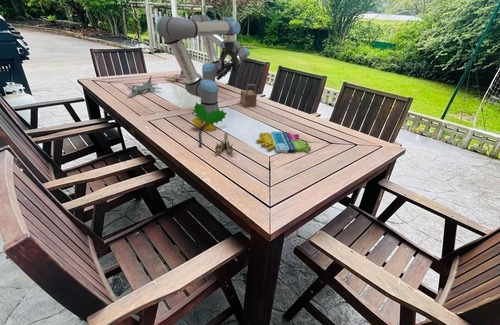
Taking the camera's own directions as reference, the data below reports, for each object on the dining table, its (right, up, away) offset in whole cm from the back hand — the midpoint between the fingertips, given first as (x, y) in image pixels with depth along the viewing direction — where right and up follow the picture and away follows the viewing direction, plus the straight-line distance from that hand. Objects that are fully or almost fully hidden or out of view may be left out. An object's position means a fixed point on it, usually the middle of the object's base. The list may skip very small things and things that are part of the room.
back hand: (217, 76), depth 229 cm
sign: (+48, -64, -76) cm, 111 cm away
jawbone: (+15, -70, -90) cm, 115 cm away
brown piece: (+28, -20, -19) cm, 40 cm away
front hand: (+12, -5, -26) cm, 29 cm away
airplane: (-64, -14, -2) cm, 66 cm away
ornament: (+3, -54, -64) cm, 84 cm away
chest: (+27, -28, -14) cm, 42 cm away
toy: (-47, +13, +49) cm, 69 cm away
